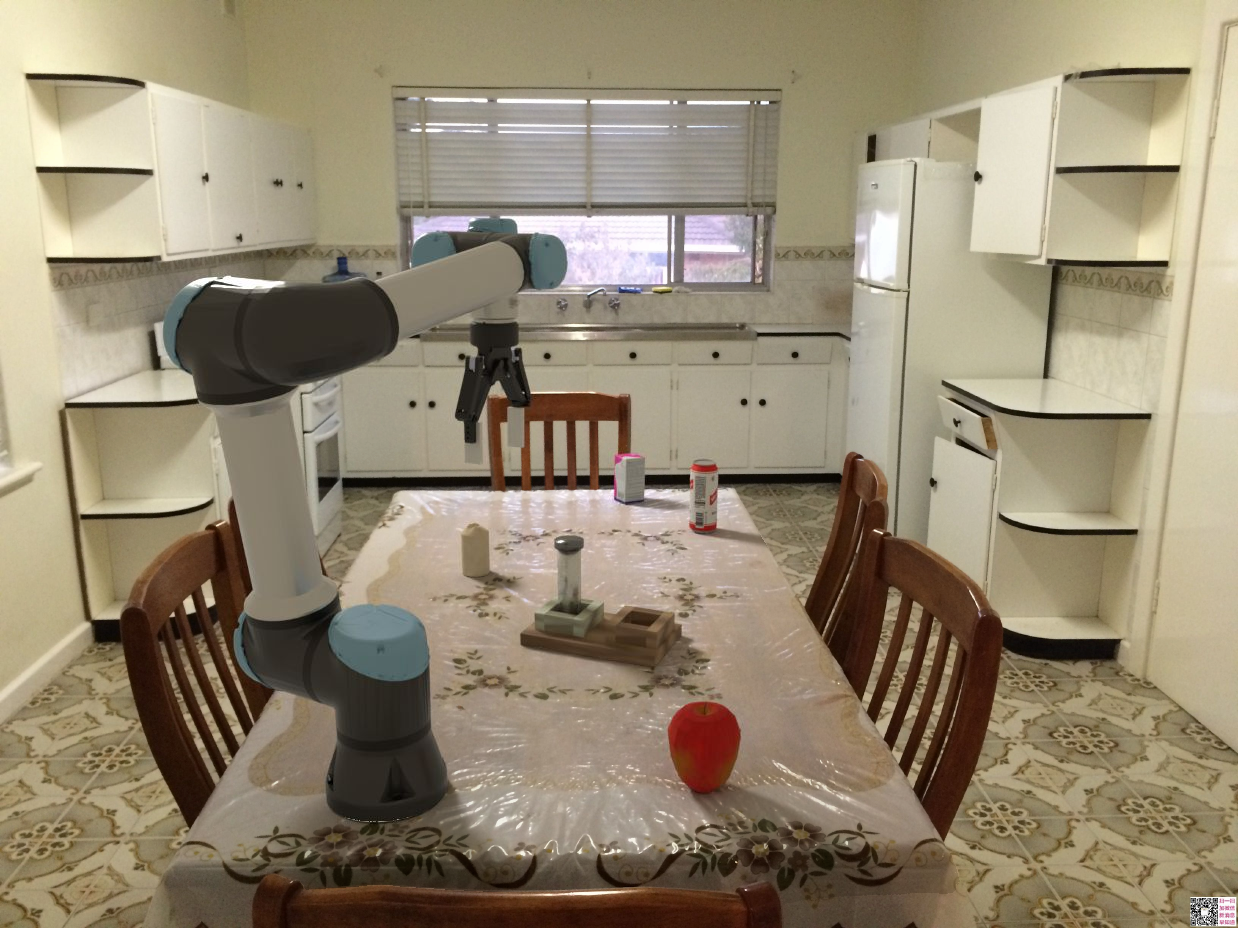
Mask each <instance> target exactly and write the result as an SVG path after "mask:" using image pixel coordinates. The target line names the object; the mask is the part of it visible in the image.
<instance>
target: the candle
mask: <svg viewBox="0 0 1238 928" xmlns="http://www.w3.org/2000/svg"><path fill="white" fill-rule="evenodd" d="M460 544H461V547H460V548H461V572H462V574H463V576H465V577H470V578H480V577H483V576H487V575H489V574H490V573H491V572H490V570H491V568H490V567H491V562H490V561H491V560H490V559H491V558H490V532H489V530H488V529H487V528H486V527H484V526H483V525H481V524H480V523H476V522H473V523H469V524H468V525H466V526H465V528H463V529H462V530H461V532H460Z"/></svg>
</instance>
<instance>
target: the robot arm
mask: <svg viewBox="0 0 1238 928" xmlns="http://www.w3.org/2000/svg"><path fill="white" fill-rule="evenodd" d="M566 249H567V248H566V247H565V244H564V243H563V241H562V240H561V239H560V238H559V237H558V236H556V235H553V234H548V233H547V234H546V233H539V232H537V231H536V232H534V233H529V232H528V233H525V232H523V233H519V231H518V224H517V222H516V220H514V219H512V218H506V217H505V218H504V217H503V218H502V217H501V218H499V217H497V218H496V217H494V218H493V217H472V218H470V219H469V221H468V228H467V230H466V231H457V230H456V231H454V230H451V231H448V230H435V231H429V232H424V233H422V234H421V235H419V236H418V237H417V238H416V240H415V241H414V243H413V245H412V247H411V251H410V253H411V254H410V255H411V257H410V259H411V266H412V268H409V269H406V270H404V271H400V272H397V273H394V274H391V275H388V276H385V277H382V278H378V279H376V280H374V279H371V278H368V277H364V276H356V277H353V278H350V279H347V280H342V281H335V282H307V281H292V280H272V279H271V280H269V279H268V280H267V279H257V278H243V277H237V276H232V275H227V276H218V277H205V278H200V279H196V280H194V281H192V282H190V283H188V284H187V285H185V286H184V287H183V288H181V290H180V291H178V292H177V293H176V295H175V296H174V299H173V300H172V303H171V304H170V305H168V308H167V310H166V313H165V315H164V319H163V324H162V325H163V326H162V340H163V345H164V348H165V352H166V354H167V356H168V357H169V359H170V361H171V362H172V363H173V364H174V365H175V366H177V367H178V369H180V370H181V371H183V372H184V373H186V374H189V375H190V376H192V378H193V379H192V380H193V384H194V389H195V393H196V398H197V402H198V403H199V405H201V406H203V407H204V408H207V409H208V410H210V411H211V412H213V413H214V415H215V420H216V424H217V429H218V433H219V439H220V444H221V447H222V451H223V452H222V453H223V456H224V457H223V458H224V461H225V467H226V470H227V474H228V475H227V476H228V480H229V486H230V489H231V490H230V491H231V493H232V499H233V504H234V507H235V512H236V519H237V522H238V525H239V526H238V527H239V531H240V532H239V533H240V535H241V540H242V544H243V549H244V555H245V559H246V562H247V567H248V569H247V570H248V573H249V577H250V583H251V586H252V591H250V593H249V594H248V596H247V597H246V598H245V600H244V602H243V611H242V612H241V614H240V616H239V617H238V620H237V623H239V626H238V628H235V629H234V633H233V650H234V654H235V658H236V660H237V663H238V665H239V667H240V668H241V670H242V671H243V672H244V673H245V674H246V675H247V676H248V677H249V678H250V679H252V680H254V681H256V682H258V683H260V684H261V685H263V686H265V687H266V688H268V689H273V690H275V691H277V692H284V693H287V694H290V695H294V696H297V697H301V698H303V699H306V700H310V701H313V702H316V703H318V704H321V705H324V706H328V707H331V708H333V709H334V714H335V715H334V716H335V726H336V727H335V728H336V729H335V730H336V742H335V745H334V748H333V753H332V755H331V760H330V762H329V767H328V770H327V773H326V778H325V797H326V799H325V800H326V803H327V805H328V807H329V808H330V810H332V811H333V812H334V813H335V814H336V813H337V815H338V814H339V815H338V816H340V815H341V816H340V817H342V816H343V817H342V818H344V817H346V818H345V819H347V818H350V819H355V820H358V821H359V820H360V821H369V822H370V821H372V822H373V821H376V822H378V821H393V820H397V819H403V818H406V819H408V818H407V817H410V818H412V817H415V816H418V815H421V814H423V813H424V812H426V811H428V810H429V809H432V808H433V807H434V806H436V805H437V804H438V803H439V802H440V801H441V800H442V799H443V798H444V796H445V795H446V792H447V790H448V785H449V783H448V781H449V780H448V768H447V764H446V762H445V760H444V758H443V756H442V753H441V750H440V747H439V745H438V742H437V740H436V737H435V735H434V733H433V729H432V716H431V715H432V709H431V708H432V705H431V703H432V702H431V675H430V671H431V668H430V667H431V666H430V659H431V655H430V654H431V653H430V649H429V648H430V647H429V645H428V637H427V630H426V628H425V625H424V624H423V622H422V621H421V619H419V617H418V616H417V615H415V614H414V613H413V612H411V611H410V610H407V609H405V608H402V607H398V606H396V605H393V604H392V605H391V604H384V603H380V604H379V605H375V604H374V603H365V604H357V605H353V606H350V607H346V608H345V609H343V608H342V605H341V600H340V596H339V590H338V585H337V583H336V582H335V581H334V580H333V579H331V578H330V577H328V576H326V575H323V571H322V564H321V560H320V554H319V550H318V544H317V538H316V533H315V528H314V523H313V518H312V517H313V516H312V512H311V506H310V502H309V496H308V492H307V486H306V481H305V475H304V470H303V464H302V460H301V454H300V449H299V445H298V438H297V433H296V427H295V422H294V417H293V412H292V406H291V399H292V398H293V396H294V395H295V394H296V393H297V391H298V390H299V388H300V386H305V385H308V384H313V383H317V382H322V381H325V380H329V379H331V378H334V377H338V376H340V375H344V374H346V373H350V372H351V371H354V370H357V369H360V368H362V367H364V366H366V365H369V364H372V363H374V362H376V361H378V360H381V359H384V358H385V357H388V356H389V355H391V354H392V353H394V351H395V350H396V348H397V347H398V346H399V345H398V344H399V342H401V341H403V340H406V339H408V338H411V337H413V336H416V335H419V334H420V333H423V332H426V331H428V330H431V329H433V328H435V327H437V326H441V325H442V324H444V323H447V322H450V321H451V320H452V321H453V320H455V319H456V318H460V317H462V316H465V315H467V314H469V317H470V318H471V319H472V321H470V323H469V343H470V345H471V346H472V347H476V349H477V353H476V355H468V354H467V355H466V356H465V360H464V361H465V362H464V373H463V376H462V382H461V385H460V390H459V393H458V394H459V395H458V399H457V404H456V407H455V412H454V418H455V419H456V420H457V421H458V422H463V436H464V438H463V440H464V463H466V464H473V465H482V464H484V462H483V461H484V460H483V458H484V457H483V452H484V451H483V446H484V445H483V421H480V418H481V414H482V412H483V410H484V407H485V405H486V402H487V398H488V396H489V394H490V390H491V388H492V387H493V386H495V385H496V383H497V382H499V383H500V386H501V388H502V390H503V392H504V394H505V396H506V398H507V400H508V402H509V404H510V406H507V407H506V408H507V411H506V412H507V413H506V414H507V416H506V417H507V447H512V448H521V449H522V448H525V408H530V407H531V404H532V402H531V401H532V393H531V392H532V391H531V389H530V385H529V381H528V377H527V373H526V370H525V369H526V368H525V365H524V362H523V349H522V348H521V347H517V346H518V345H519V342H520V341H519V340H520V338H519V337H520V330H519V329H520V327H519V326H520V325H519V323H518V322H517V321H515V319H517V318H518V317H519V305H520V304H521V302H520V300H519V293H521V292H523V291H526V290H536V291H542V290H554V289H556V288H558V287H559V286H560V285H561V284H562V283H563V281H564V280H565V278H566V275H567V272H568V265H569V261H568V254H567V250H566ZM342 609H343V610H342ZM411 816H412V817H411ZM350 819H349V820H350ZM403 820H404V819H403ZM358 821H357V822H358ZM393 822H394V821H393Z"/></svg>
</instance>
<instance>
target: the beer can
mask: <svg viewBox="0 0 1238 928" xmlns="http://www.w3.org/2000/svg"><path fill="white" fill-rule="evenodd" d="M692 463H693V464H692V465H691V468H690V472H689V473H690V474H689V475H690V477H689V512H688V513H689V514H688V515H689V520H688V522H689V523H688V527H689V528H690V530H691V531H692V532H693V533H697V534H703V533H705V534H711V533H713V532H714V531H715V530H716V529H717V527H718V495H719V494H718V492H719V491H718V489H719V488H718V487H719V468H718V466H717V461H716V460H713V459H707V458H706V459H705V458H702V459H701V458H700V459H695V460H693V461H692ZM710 532H711V533H710Z"/></svg>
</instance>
